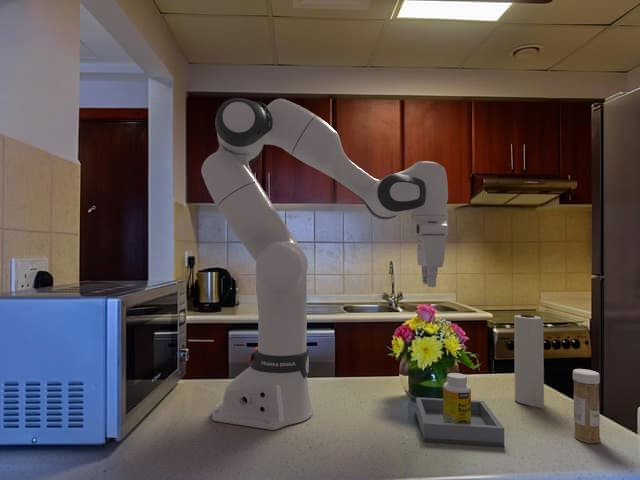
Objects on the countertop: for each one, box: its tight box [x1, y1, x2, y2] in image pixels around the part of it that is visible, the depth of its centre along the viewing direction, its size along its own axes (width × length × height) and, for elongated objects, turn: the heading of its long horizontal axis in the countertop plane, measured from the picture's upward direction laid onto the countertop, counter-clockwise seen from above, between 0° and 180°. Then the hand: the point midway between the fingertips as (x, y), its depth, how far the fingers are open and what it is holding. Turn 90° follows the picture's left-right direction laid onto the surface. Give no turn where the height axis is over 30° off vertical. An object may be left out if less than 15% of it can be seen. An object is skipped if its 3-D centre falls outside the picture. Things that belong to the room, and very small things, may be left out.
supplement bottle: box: [442, 372, 472, 424], centre depth 88 cm, size 6×6×10 cm
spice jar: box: [572, 368, 601, 444], centre depth 83 cm, size 5×5×13 cm
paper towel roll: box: [513, 314, 545, 409], centre depth 104 cm, size 7×6×21 cm
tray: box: [415, 396, 505, 448], centre depth 88 cm, size 15×15×4 cm
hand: (429, 285), depth 101 cm, fingers open, 8 cm apart
